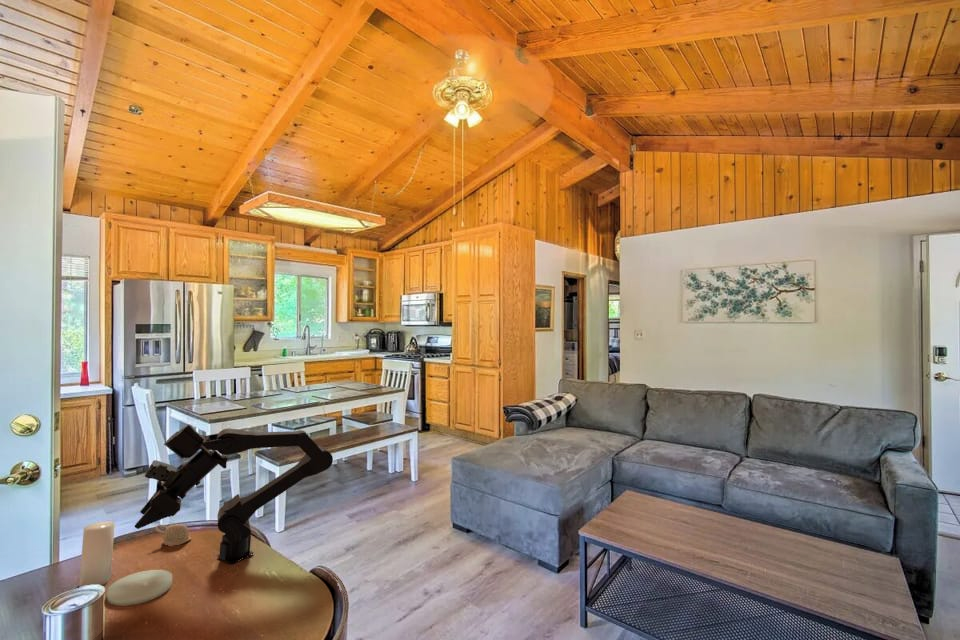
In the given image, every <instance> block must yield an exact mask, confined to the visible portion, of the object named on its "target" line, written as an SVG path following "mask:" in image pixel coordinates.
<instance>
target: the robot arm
mask: <svg viewBox="0 0 960 640" xmlns="http://www.w3.org/2000/svg"><path fill="white" fill-rule="evenodd" d="M163 445H164V446H165V447H166V448H168V449H169V450H170V451H172V453H174V454H175V455H176V456H177V457H178V458H180V459H181V460H182V459H184V458H185V459H189V460H188V461H187V462H186V463H181V464H180V465H179V466H174V465H172V464H169V463H166V462H162V461H160V460H155V459H154V460H152V462H151V464H150V466H149V467H148V468H147V470H146V472H145V474H144V477H145V478H147V479H153V480H157V483H156V490H155V492H154V493H153V495H152V496H151V497H150V499H149V500H148V501H147V502H146V504H145V505H144V506H143V507H142V509H141V510H140V514H141V515H142V516H141V518H140V519H139V520H138V521H137V522H136V523H135V524H134V528H135V529H137V530H139V529H141V528H143V527H147V526H149V525H151V524H153V523H155V522H159V521H160V520H163V519H166V518H170V517H174V516H175V515H177V513H179V512H180V511H181V506H182V500H183V499H185V497H186V496H187V493H188V492H189V491H191V490H192V489H193V488H194V487H195V486H196V487H197V486H199V485H200V484H201V481H202V480H203V479H204V478H205V477H206V476H207V475H209V473H211V471H213V470H214V469H215V468H216V467H217V466H220V467H222V469H224V470H225V469H227V462H228V459H229V455H234V454H239V453H242V452H246V451H248V450H253V449H264V448H265V449H266V448H267V449H268V448H270V449H271V448H287V447H298V448H300V449H301V450H302V451H303V452H304V453H305V454H304V456H303V457H302V458H301V459H300V460H299V462H298V463H296V465H294V466H292V467H290V468H289V469H288V470H286V471H284V472H283V473H282V474H279V476H277V477H275V478H274V479H272V480H271V481H270V482H268V483H266V484H265V485H263V486H261V487H260V488H259V489H256V490H255V491H253V493H251V494H249V495H246V496H243V497H241V496H240V494H239V493H237V494H236V495H234V496H233V497H232V498H231V499H229V500H227V501H224V502H223V505H222V506H221V507H220V508H219V510H218V511H217V515H216V516H217V528H218V531H220V532H221V533H222V534H223V535H222V536H221V537H222V538H221V542H220V544H219V553H218V555H217V556H216V558H217V557H218V558H217V559H219V558H220V559H219V560H221V559H222V560H221V561H223V560H224V562H225V561H226V562H225V563H227V562H228V564H229V563H231V564H230V565H233V564H235V563H234V562H236V561H238V560H240V559H242V558H244V557H247V556H249V555H251V554H253V553H255V552H253V551H252V550H251V542H252V541H251V540H252V528H251V525H250V518H251V517H252V516H253V515H254V514H255V513H256V512H257V511H258V510H259V509H261V508H262V507H263V506H265V505H267V504H268V503H270V502H271V501H272V500H274V499H275V498H278V497H279V496H280V495H281V494H283V493H284V492H286V491H288V490H289V489H290V488H292V487H293V486H295V485H296V484H298V483H299V482H301V481H303V480H304V479H306V478H309V477H312V476H316V475H319V474H321V473H323V472H325V471H327V470H328V469H330V468H331V466H332V465H333V462H334V459H333V457H334V456H333V454H331V452H330V451H329V450H328V448H327V447H325V446H322V445H318V444H317V443H316V442H315V441H314V440H313V439H312V438H311V437H310V435H309V433H307V432H306V431H305V430H302V429H299V430H295V431H293V430H289V431H288V430H287V431H263V432H261V431H260V432H254V431H249V430H243V429H237V428H231V427H230V428H229V427H228V428H224V429H222V430H220V431H219V432H218V433H213V434H207V435H203V436H202V434H200V433H199V432H198V431H197V430H195V428H194V427H193V426H192V425H191V424H189V423H188V424H187V425H185V426H184V427H183V428H181V429H179V430H177V431H176V432H174V433H173V434H172V435H171V436H170V437H169V438H168V439H167V440H166V441H164V443H163ZM190 458H191V459H190ZM253 555H254V554H253ZM251 556H252V555H251ZM249 557H250V556H249ZM247 558H248V557H247ZM242 560H243V559H242ZM240 561H241V560H240ZM238 562H239V561H238ZM232 563H233V564H232ZM236 563H237V562H236Z"/></svg>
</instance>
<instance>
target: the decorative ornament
mask: <svg viewBox="0 0 960 640" xmlns="http://www.w3.org/2000/svg"><path fill="white" fill-rule="evenodd" d="M160 527H162V528H164V530H161V529H159V528H160ZM155 530H156V532H158V533H160V534H163V536H162V539H163V540H162V542H161V543H162V544H163V545H166V546H167V545H168V547H176V546H175V545H177V546H180V545H182V544H185V543H186V542H188V541H190V540H192V537H190V535H189V534H190V533H189V532H190V530H189V529H188V527H187V526H186V525H184V524H183V523H175V525H174V524H170V525H169V526H167V525H166V524H157V525H156V526H155ZM173 545H174V546H173Z"/></svg>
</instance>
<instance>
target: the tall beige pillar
mask: <svg viewBox="0 0 960 640" xmlns="http://www.w3.org/2000/svg"><path fill="white" fill-rule="evenodd" d="M115 525H116V523H115V522H114V521H111V520H110V521H109V520H108V521H107V520H105V521H97V522H94V523H91V524H88V525H86V526H84V527H83V533H82V535H83V536H82V546H81V547H82V548H81V559H80V570H79V584H78V586H79V588H80V586H83V585H90V584H100V585H101V586H103V585H106V584H107V583H108V582H110V580H111V576H112V563H113V550H114V549H113V548H114V536H115Z"/></svg>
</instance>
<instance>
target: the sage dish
mask: <svg viewBox="0 0 960 640" xmlns="http://www.w3.org/2000/svg"><path fill="white" fill-rule="evenodd" d="M172 585H173V574H172V572H171V571H167V570H165V569H148V570H143V571H138V572H134V573H131V574H128V575H126V576H124V577H121V578H119V579H118V580H116V581H115V582H113V583H112V584H111V585H109V587H108V588H107V590H106V591H107V592H106V601H107V602H108V604H111V605H113V606H117V607H119V606H121V607H124V606H125V607H126V606H133V605H138V604H143V603H146V602H149V601H152V600H154V599H157V598H158V597H161V596H162V595H163V594H165V593H166V592H167V591H169V589H171V587H172Z"/></svg>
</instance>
